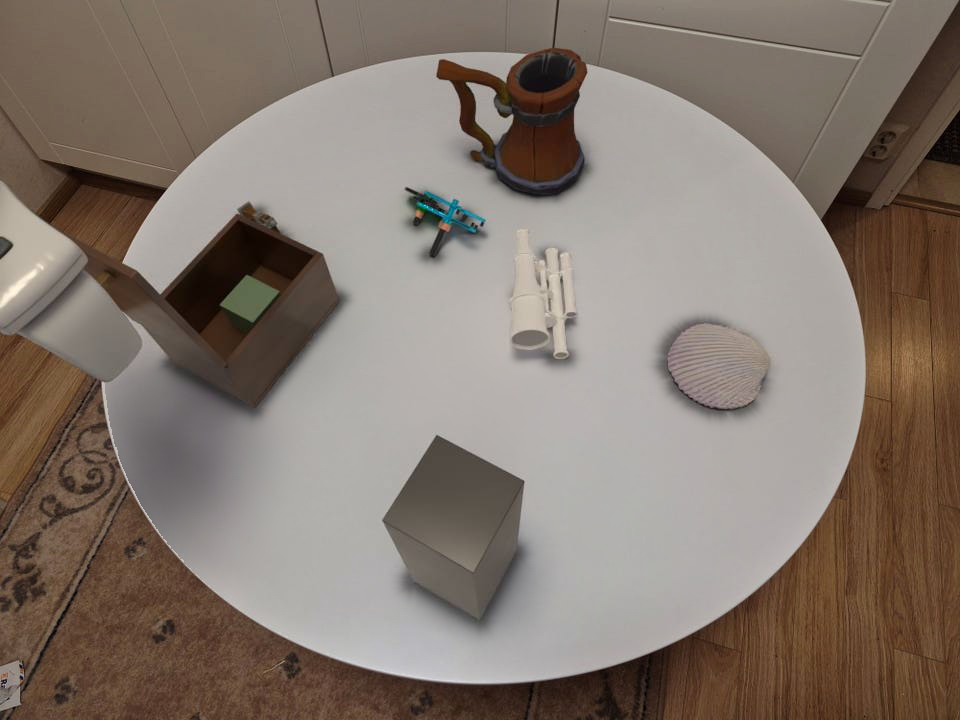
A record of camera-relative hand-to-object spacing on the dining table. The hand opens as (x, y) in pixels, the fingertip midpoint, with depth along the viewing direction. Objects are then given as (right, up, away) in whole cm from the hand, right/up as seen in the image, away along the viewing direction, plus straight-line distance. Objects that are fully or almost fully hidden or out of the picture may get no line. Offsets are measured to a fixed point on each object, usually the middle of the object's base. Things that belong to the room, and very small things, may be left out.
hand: (66, 343), depth 53 cm
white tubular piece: (+39, +5, +24) cm, 46 cm away
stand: (+31, -20, +10) cm, 38 cm away
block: (+8, +3, +23) cm, 24 cm away
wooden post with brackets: (+6, +14, +30) cm, 34 cm away
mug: (+37, +24, +35) cm, 56 cm away
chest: (+8, +2, +23) cm, 24 cm away
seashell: (+57, -2, +20) cm, 61 cm away
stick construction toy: (+27, +14, +30) cm, 43 cm away
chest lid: (+3, +4, +4) cm, 7 cm away
